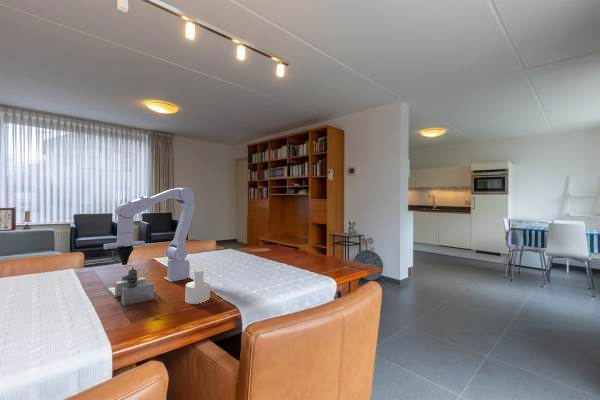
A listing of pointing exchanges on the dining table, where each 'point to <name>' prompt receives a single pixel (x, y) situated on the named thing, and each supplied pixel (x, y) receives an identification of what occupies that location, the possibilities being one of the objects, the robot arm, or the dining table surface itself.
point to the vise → (135, 293)
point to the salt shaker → (132, 277)
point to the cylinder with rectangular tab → (197, 288)
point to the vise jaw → (126, 284)
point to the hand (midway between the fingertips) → (124, 264)
